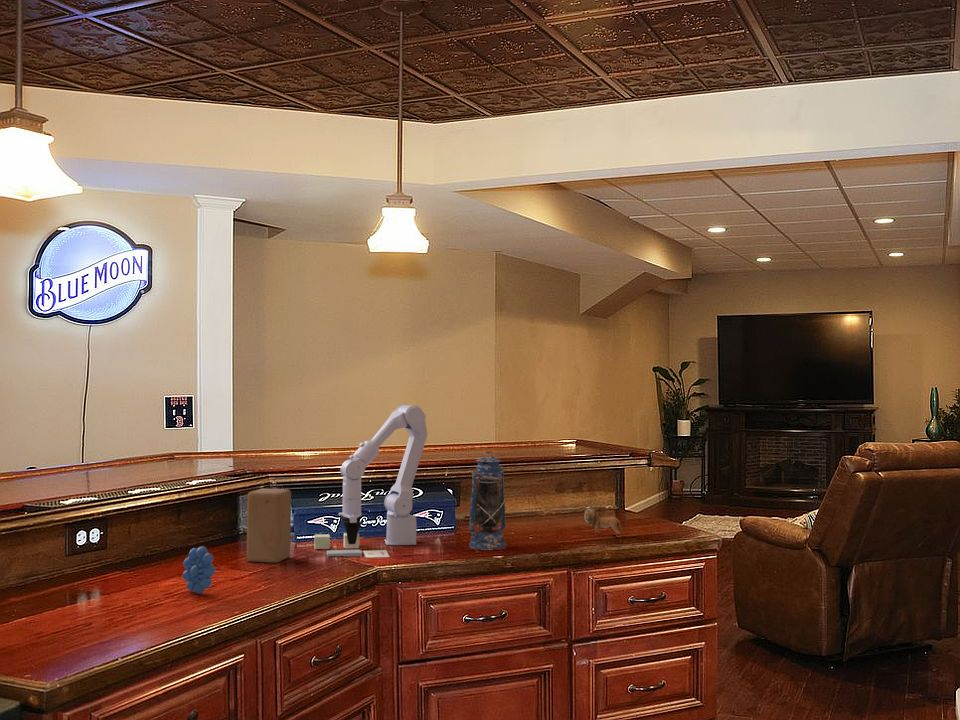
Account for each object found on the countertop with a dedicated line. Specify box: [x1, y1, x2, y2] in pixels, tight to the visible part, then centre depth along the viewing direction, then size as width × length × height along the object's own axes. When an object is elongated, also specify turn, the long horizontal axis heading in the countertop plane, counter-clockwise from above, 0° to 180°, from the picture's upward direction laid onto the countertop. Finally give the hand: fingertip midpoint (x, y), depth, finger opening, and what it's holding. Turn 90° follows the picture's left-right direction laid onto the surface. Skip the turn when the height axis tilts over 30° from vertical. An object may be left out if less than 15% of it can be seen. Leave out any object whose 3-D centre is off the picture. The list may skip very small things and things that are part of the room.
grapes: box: [182, 545, 216, 595], centre depth 248 cm, size 12×7×12 cm, turn 52°
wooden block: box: [246, 488, 292, 564], centre depth 289 cm, size 10×10×20 cm
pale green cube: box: [314, 533, 331, 550], centre depth 307 cm, size 4×4×4 cm
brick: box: [343, 532, 360, 549], centre depth 310 cm, size 4×4×4 cm
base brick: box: [326, 549, 363, 558], centre depth 297 cm, size 10×5×2 cm, turn 102°
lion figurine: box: [583, 508, 624, 535], centre depth 334 cm, size 15×5×9 cm, turn 70°
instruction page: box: [362, 549, 391, 559], centre depth 299 cm, size 7×10×1 cm
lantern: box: [468, 451, 507, 550], centre depth 312 cm, size 15×12×30 cm
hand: (351, 542), depth 310 cm, fingers closed on brick, 4 cm apart
